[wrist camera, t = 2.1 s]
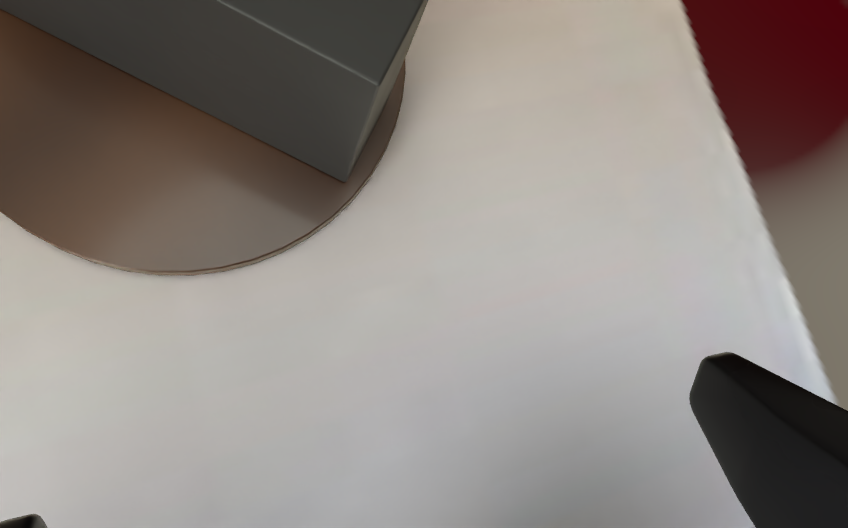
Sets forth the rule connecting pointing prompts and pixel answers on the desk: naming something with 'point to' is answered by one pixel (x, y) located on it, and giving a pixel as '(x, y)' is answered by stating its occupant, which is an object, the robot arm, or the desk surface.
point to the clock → (254, 61)
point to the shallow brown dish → (150, 167)
